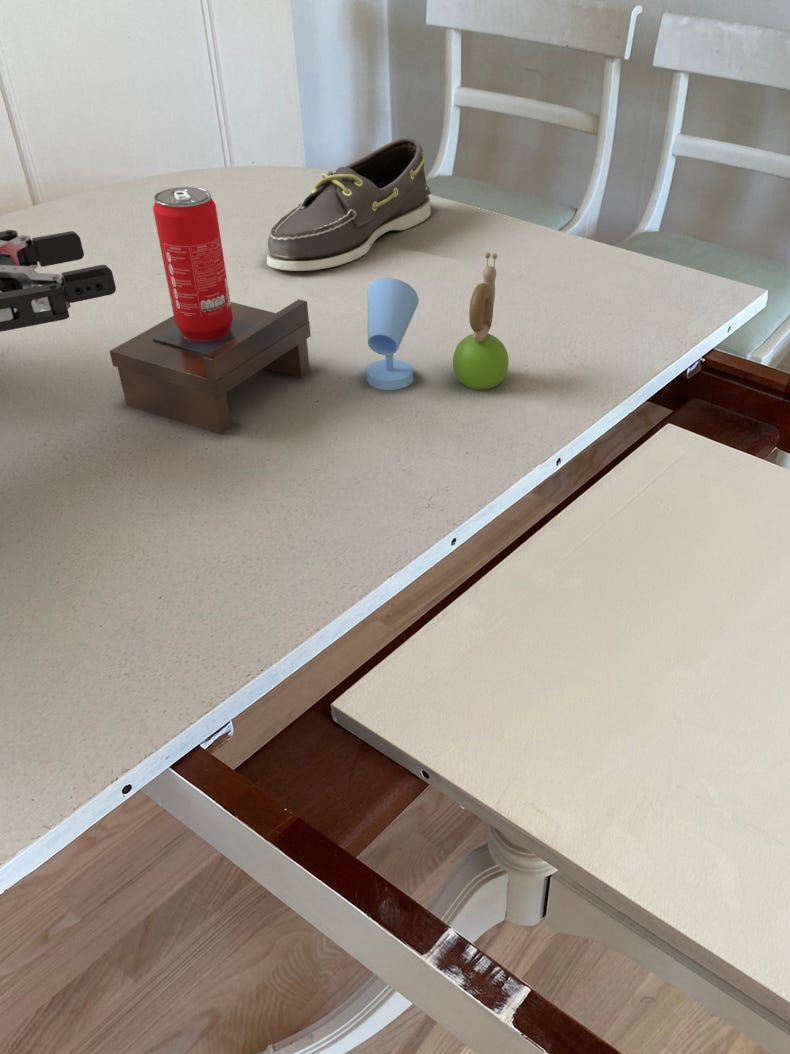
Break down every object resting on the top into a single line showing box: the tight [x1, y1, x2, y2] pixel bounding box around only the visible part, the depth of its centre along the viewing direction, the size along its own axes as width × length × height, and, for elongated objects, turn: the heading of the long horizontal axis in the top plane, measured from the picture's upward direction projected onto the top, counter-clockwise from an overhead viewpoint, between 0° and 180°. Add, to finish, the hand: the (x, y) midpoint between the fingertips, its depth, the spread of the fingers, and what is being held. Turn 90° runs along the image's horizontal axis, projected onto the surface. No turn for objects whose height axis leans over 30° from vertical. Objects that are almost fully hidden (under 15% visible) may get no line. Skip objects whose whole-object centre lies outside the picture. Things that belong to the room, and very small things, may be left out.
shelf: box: [109, 299, 311, 436], centre depth 91 cm, size 12×14×8 cm
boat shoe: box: [266, 137, 432, 272], centre depth 122 cm, size 11×31×9 cm, turn 149°
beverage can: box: [152, 186, 233, 342], centre depth 86 cm, size 5×5×12 cm
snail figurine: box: [452, 251, 510, 391], centre depth 92 cm, size 5×6×12 cm
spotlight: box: [366, 277, 419, 391], centre depth 93 cm, size 5×10×7 cm
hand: (96, 261), depth 81 cm, fingers open, 8 cm apart
